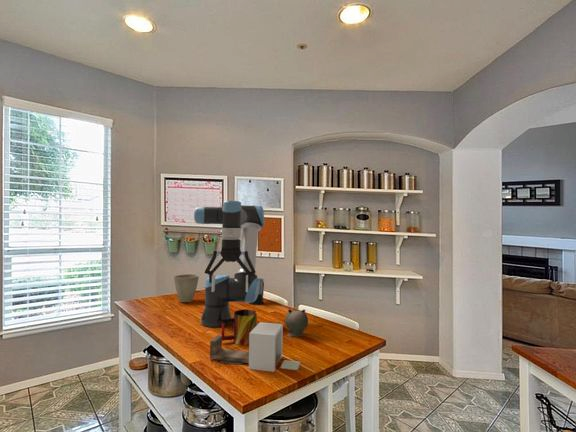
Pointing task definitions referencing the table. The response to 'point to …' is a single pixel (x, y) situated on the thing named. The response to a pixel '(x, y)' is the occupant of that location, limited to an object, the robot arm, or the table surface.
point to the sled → (230, 352)
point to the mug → (241, 326)
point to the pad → (290, 365)
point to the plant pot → (186, 286)
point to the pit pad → (231, 362)
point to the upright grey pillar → (265, 346)
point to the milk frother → (260, 294)
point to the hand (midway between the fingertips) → (230, 291)
